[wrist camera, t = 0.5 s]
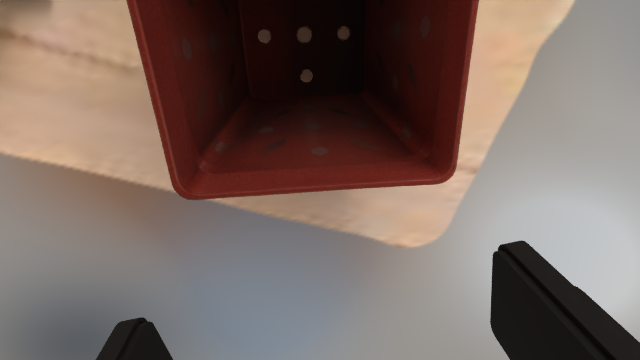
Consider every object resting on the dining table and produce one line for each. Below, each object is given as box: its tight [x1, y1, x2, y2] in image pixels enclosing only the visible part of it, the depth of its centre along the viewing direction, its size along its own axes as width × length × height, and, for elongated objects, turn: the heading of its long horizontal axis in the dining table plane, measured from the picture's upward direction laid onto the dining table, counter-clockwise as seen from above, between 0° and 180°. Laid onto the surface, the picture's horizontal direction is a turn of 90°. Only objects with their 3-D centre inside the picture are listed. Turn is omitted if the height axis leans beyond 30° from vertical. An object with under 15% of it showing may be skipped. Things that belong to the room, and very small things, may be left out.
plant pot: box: [127, 0, 479, 200], centre depth 27 cm, size 19×19×17 cm
